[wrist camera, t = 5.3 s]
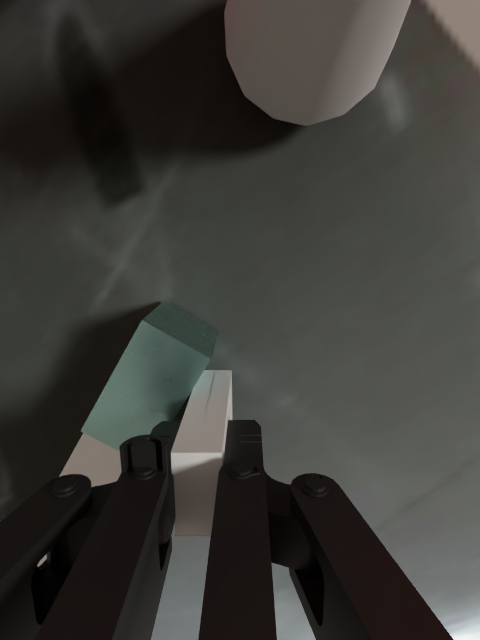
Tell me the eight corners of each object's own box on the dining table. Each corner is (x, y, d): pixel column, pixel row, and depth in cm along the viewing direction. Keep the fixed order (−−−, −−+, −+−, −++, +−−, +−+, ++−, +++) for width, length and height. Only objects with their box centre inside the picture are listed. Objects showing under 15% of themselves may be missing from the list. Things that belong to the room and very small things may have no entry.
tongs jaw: (21, 658, 22) (-27, 748, 18) (-37, 633, 22) (-97, 719, 18) (218, 331, 18) (211, 359, 14) (150, 292, 18) (124, 310, 14)
